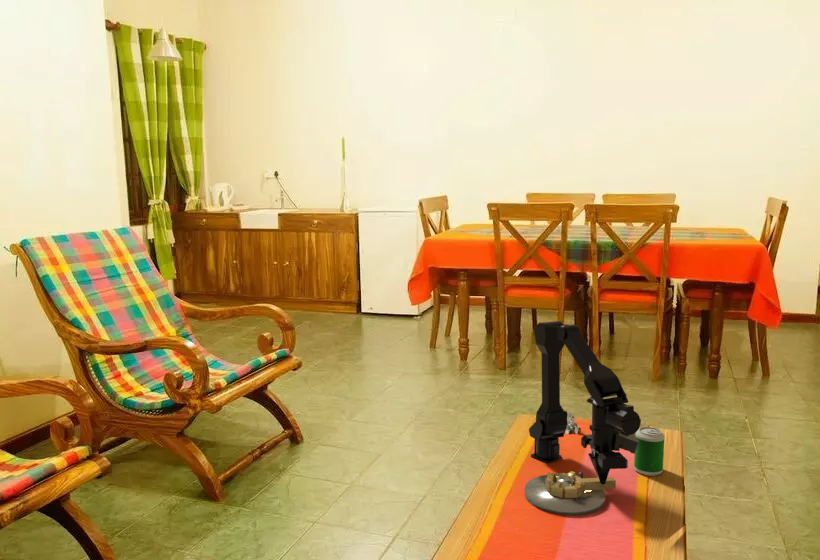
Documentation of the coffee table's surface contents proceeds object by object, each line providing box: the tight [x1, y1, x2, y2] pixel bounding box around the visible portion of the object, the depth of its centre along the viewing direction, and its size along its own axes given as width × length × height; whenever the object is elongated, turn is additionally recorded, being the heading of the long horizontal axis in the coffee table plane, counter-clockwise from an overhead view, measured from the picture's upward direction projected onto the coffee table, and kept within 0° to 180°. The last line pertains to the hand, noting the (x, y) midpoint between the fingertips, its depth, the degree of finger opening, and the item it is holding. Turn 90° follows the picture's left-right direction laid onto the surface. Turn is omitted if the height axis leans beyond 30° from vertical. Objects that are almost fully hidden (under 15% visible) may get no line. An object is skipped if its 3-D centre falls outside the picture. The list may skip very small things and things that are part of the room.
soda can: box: [633, 426, 665, 477], centre depth 192 cm, size 8×8×12 cm
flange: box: [524, 471, 606, 516], centre depth 178 cm, size 20×20×4 cm
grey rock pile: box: [565, 411, 581, 435], centre depth 218 cm, size 9×9×8 cm
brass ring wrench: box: [545, 470, 617, 498], centre depth 179 cm, size 18×9×3 cm, turn 97°
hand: (602, 484), depth 178 cm, fingers closed, pressing on brass ring wrench
